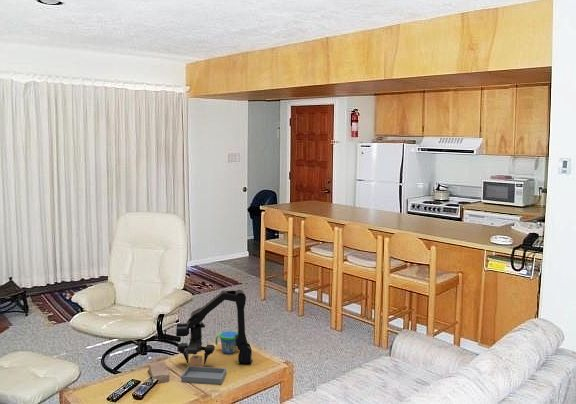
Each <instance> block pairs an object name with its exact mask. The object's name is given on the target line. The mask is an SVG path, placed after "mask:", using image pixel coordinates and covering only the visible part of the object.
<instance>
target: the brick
mask: <svg viewBox="0 0 576 404" xmlns="http://www.w3.org/2000/svg"><path fill="white" fill-rule="evenodd" d="M148 373H149V375H150V377H152V378H153V379H157V380H159V383H158V384H162V383H164V384H165V383H169V382H170V372H169V370H168V368H167V363H166V361H165V360H159V361H154V362H149V363H148Z"/></svg>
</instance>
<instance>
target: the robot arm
mask: <svg viewBox="0 0 576 404" xmlns="http://www.w3.org/2000/svg"><path fill="white" fill-rule="evenodd" d="M224 301H228V302H229V301H230V302H235V305H236V318H237V322H236V323H237V335H235V345H236V349H237V350H239V353H238V356H237V357H238V358H237V359H238V361H237V362H238V365H241V366H242V365H243V366H251V365H252V363H253V356H252V355H253V353H252V352H253V350H252V348H251V347H252V346H251V344H250V343H249V342H248V339H247V335H246V325H245V324H246V322H245V321H246V319H245V306H246V301H247V296H246V293H245V291H244V290H243V289H237V290H233V289H232V290H221V291H220V292H219V293H218V294H217V295H216V296H215V297H213V298H211V300H210V301H209V302H207V303H206V304H205V305H203V306H202V307H199V308H196V309H195V310H193V311H191V312H190V317H189V318H188V319H187V321H186V322H183V323H181V322H179V323H178V322H177V323H176V329H175V335H176V338H179V337H188V336H189V335H190V338H189V342H181V343H180V344H179V345H178V346H177V352H178V353H180V354H182V355H183V356H184V357H183V358H184V359H185V361H186V363H187V364H189V363H190V362H189V361H190V357H189V355H198V353H199V352H200V353H201V351H204V353H203V354H204V356H203V357H204V359H203V365H204V366H205V365H206V363H207V360H208V357H209V356H210V355H212V354H213V353H214V351H215V345H214V344H206V346H203V342H202V338H203V334H202V333H203V331H202V330H203V328H206V324H205V323H204V322H203V321H204V319H205V318H206V317H207V315H208V314H209V313H210V312H212V311H213V310H214V309H216V308H217V307H218V306H219V305H221V304H222V303H223V302H224Z"/></svg>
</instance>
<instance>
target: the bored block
mask: <svg viewBox="0 0 576 404" xmlns="http://www.w3.org/2000/svg"><path fill="white" fill-rule="evenodd" d="M189 361H190V362H189V363H190V364H189V366H197V367H202V365H203V355H201V354H200V355H198V354H196V355H194V354H191V357H189Z"/></svg>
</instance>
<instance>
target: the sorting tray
mask: <svg viewBox="0 0 576 404" xmlns="http://www.w3.org/2000/svg"><path fill="white" fill-rule="evenodd" d="M226 376H227V367H226V368H225V367H224V368H223V367H211V366H210V367H209V366H201V367H197V366H190V365H188V366H187V367H186V369H185V370H184V372H183V373H182V375H181V376H180V382H181V383H186V384H187V383H189V384H201V385H202V384H203V385H218V386H221V385H223V384H222V383H223V382H224V380H225V378H226Z"/></svg>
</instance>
